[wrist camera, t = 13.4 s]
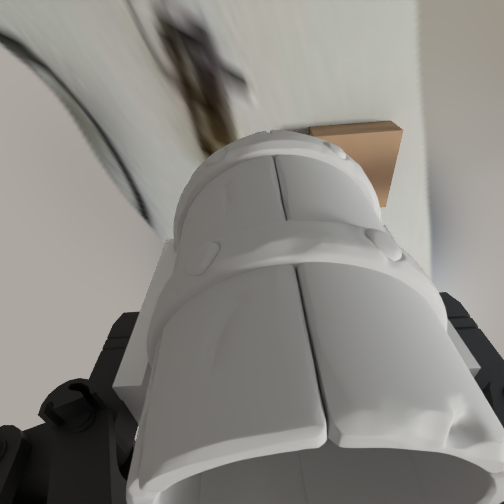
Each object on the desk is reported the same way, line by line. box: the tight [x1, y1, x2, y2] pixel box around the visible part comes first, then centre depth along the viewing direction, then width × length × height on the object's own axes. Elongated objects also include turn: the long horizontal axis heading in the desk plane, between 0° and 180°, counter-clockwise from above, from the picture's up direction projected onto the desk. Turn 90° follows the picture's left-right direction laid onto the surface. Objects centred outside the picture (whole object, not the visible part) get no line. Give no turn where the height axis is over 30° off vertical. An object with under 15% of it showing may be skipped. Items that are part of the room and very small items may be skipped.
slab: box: [309, 121, 403, 207], centre depth 28 cm, size 7×7×3 cm
